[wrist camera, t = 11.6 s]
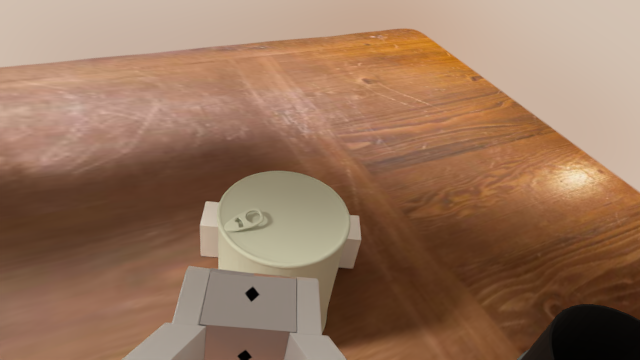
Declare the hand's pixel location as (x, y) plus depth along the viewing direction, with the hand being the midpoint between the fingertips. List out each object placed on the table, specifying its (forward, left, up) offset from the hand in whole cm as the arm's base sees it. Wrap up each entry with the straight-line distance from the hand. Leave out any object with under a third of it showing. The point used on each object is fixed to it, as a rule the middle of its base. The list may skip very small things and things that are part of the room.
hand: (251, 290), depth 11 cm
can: (-11, +12, -25) cm, 30 cm away
